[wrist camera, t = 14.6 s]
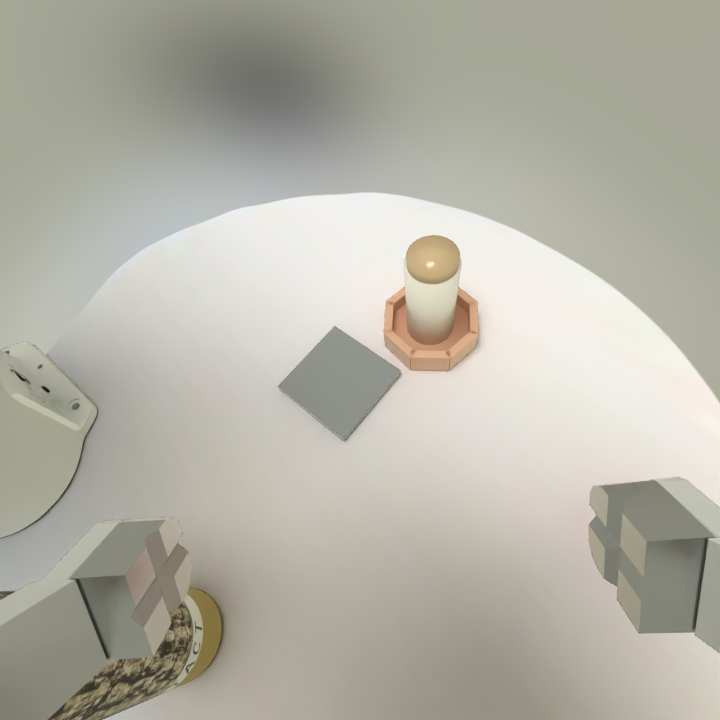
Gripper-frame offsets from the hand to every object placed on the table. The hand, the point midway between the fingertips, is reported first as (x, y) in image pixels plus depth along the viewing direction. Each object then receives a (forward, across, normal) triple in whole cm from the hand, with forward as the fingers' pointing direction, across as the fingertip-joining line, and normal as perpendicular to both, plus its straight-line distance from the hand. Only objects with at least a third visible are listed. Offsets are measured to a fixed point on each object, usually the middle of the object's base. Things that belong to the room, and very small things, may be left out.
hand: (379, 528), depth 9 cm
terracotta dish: (+38, -5, +6) cm, 39 cm away
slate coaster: (+35, +5, +10) cm, 37 cm away
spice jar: (+38, -5, +5) cm, 38 cm away
